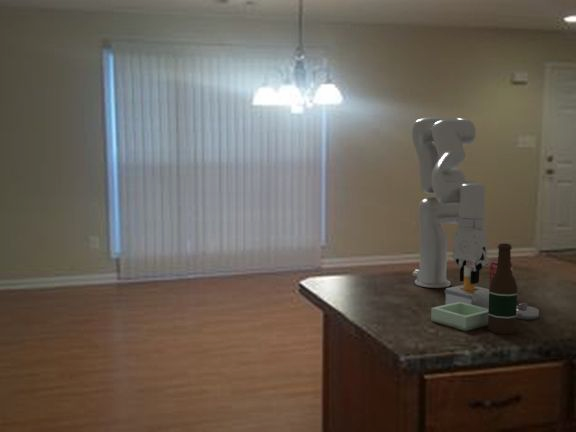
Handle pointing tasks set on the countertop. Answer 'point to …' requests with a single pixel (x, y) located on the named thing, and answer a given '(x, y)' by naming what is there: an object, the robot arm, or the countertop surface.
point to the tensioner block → (468, 296)
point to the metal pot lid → (526, 312)
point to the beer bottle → (503, 295)
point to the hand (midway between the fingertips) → (469, 281)
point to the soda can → (494, 267)
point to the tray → (460, 315)
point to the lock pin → (468, 279)
